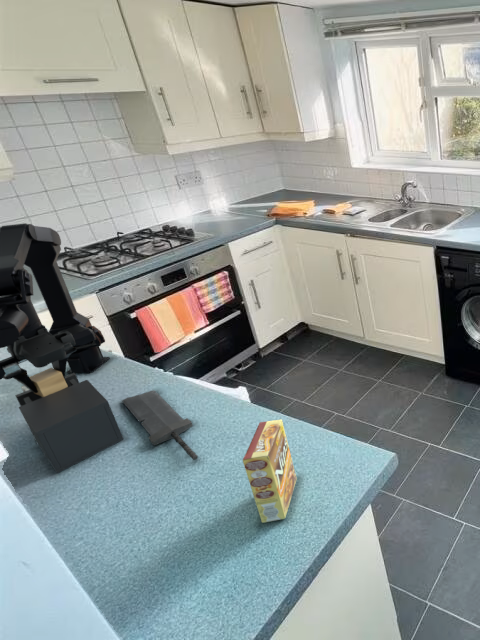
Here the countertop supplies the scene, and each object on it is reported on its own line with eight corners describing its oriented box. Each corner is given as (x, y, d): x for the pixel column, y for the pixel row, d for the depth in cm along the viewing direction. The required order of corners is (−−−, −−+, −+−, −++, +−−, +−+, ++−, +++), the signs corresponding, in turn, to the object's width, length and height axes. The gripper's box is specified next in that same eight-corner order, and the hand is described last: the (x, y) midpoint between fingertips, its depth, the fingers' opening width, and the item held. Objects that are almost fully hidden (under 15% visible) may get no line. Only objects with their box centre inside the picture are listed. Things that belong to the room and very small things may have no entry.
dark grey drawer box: (39, 446, 91) (18, 407, 87) (103, 416, 99) (86, 379, 95) (57, 473, 84) (35, 432, 80) (123, 439, 93) (107, 400, 89)
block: (33, 393, 92) (26, 378, 90) (57, 382, 95) (51, 367, 94) (44, 398, 90) (36, 382, 89) (68, 386, 94) (61, 371, 92)
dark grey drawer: (26, 419, 97) (9, 387, 93) (81, 395, 104) (67, 366, 101) (46, 449, 89) (29, 416, 85) (104, 421, 96) (91, 390, 93)
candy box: (286, 519, 76) (269, 455, 70) (260, 524, 75) (241, 460, 69) (297, 478, 84) (283, 418, 78) (274, 482, 83) (258, 421, 77)
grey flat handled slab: (156, 390, 109) (154, 383, 108) (216, 450, 90) (213, 443, 89) (120, 405, 103) (117, 398, 102) (175, 473, 84) (172, 465, 83)
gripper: (-29, 358, 76) (9, 426, 81) (98, 311, 92) (121, 370, 98) (-58, 344, 79) (-21, 410, 85) (69, 301, 96) (93, 359, 101)
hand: (49, 386), depth 92 cm, fingers closed on block, 4 cm apart
